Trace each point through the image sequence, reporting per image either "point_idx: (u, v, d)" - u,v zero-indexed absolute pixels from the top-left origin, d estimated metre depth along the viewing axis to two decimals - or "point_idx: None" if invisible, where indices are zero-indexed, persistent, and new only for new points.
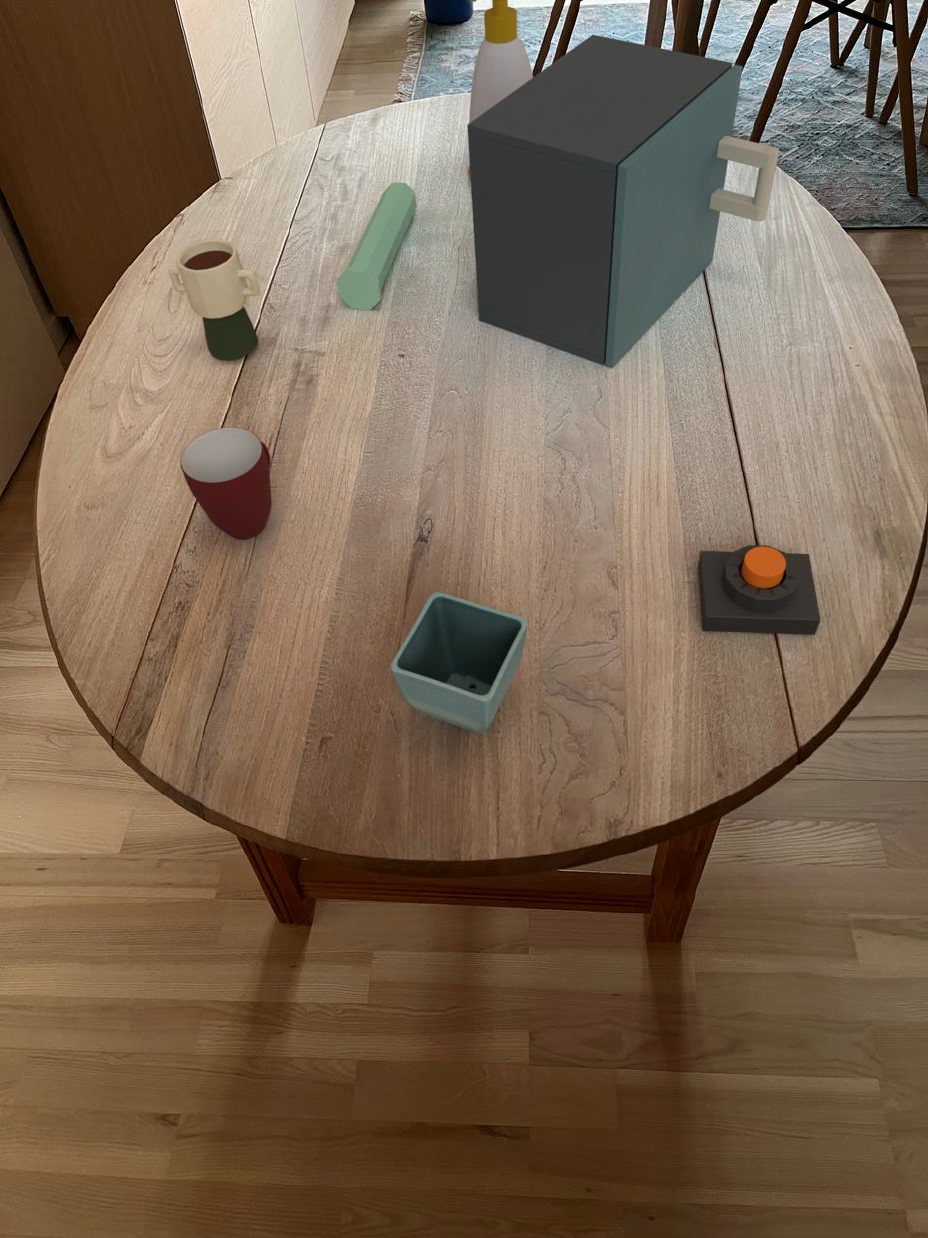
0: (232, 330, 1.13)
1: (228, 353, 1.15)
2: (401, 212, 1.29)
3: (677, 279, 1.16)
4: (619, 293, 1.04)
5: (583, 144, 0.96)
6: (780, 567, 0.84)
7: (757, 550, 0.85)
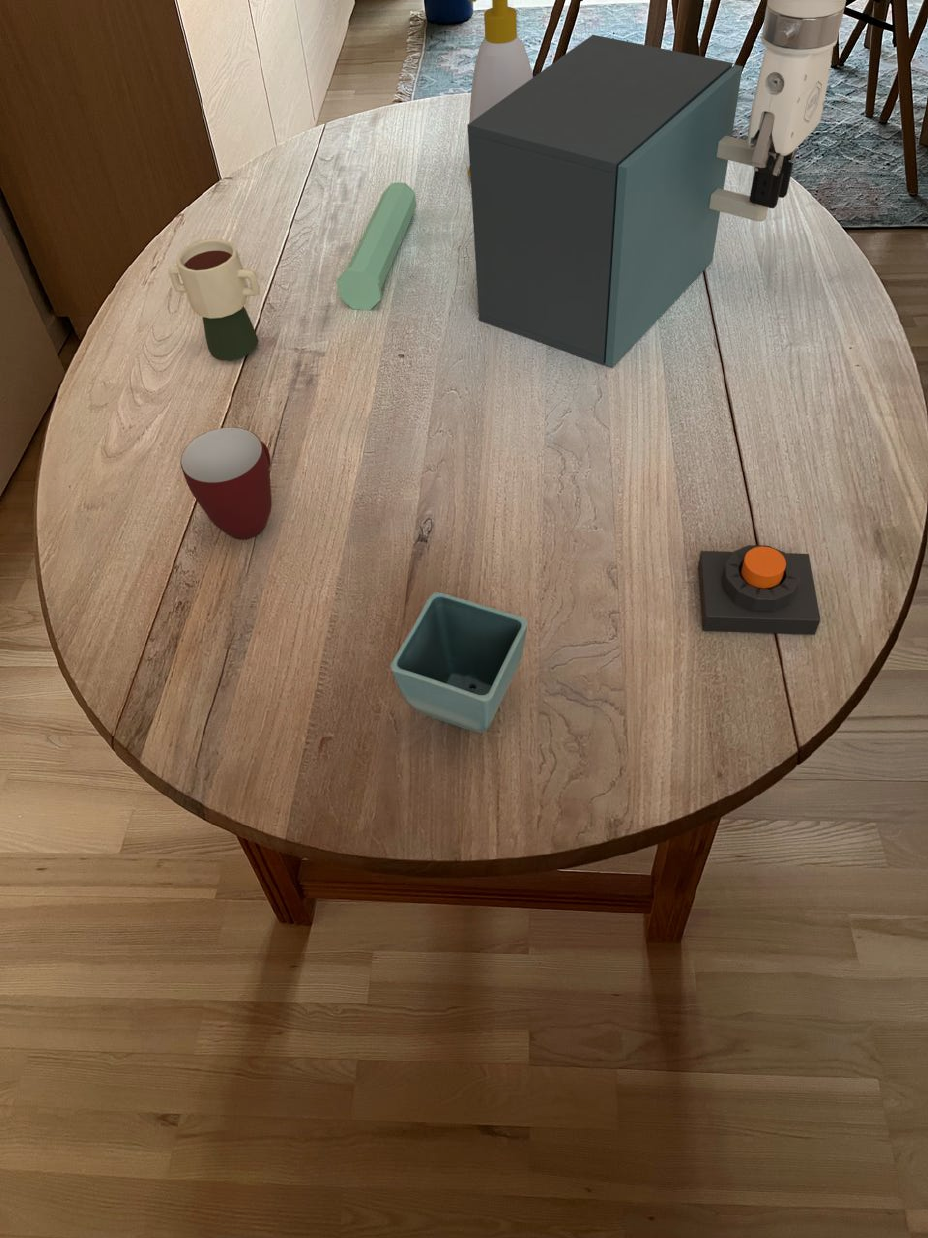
0: (232, 330, 1.13)
1: (228, 353, 1.15)
2: (401, 212, 1.29)
3: (677, 279, 1.16)
4: (619, 293, 1.04)
5: (583, 144, 0.96)
6: (780, 567, 0.84)
7: (757, 550, 0.85)
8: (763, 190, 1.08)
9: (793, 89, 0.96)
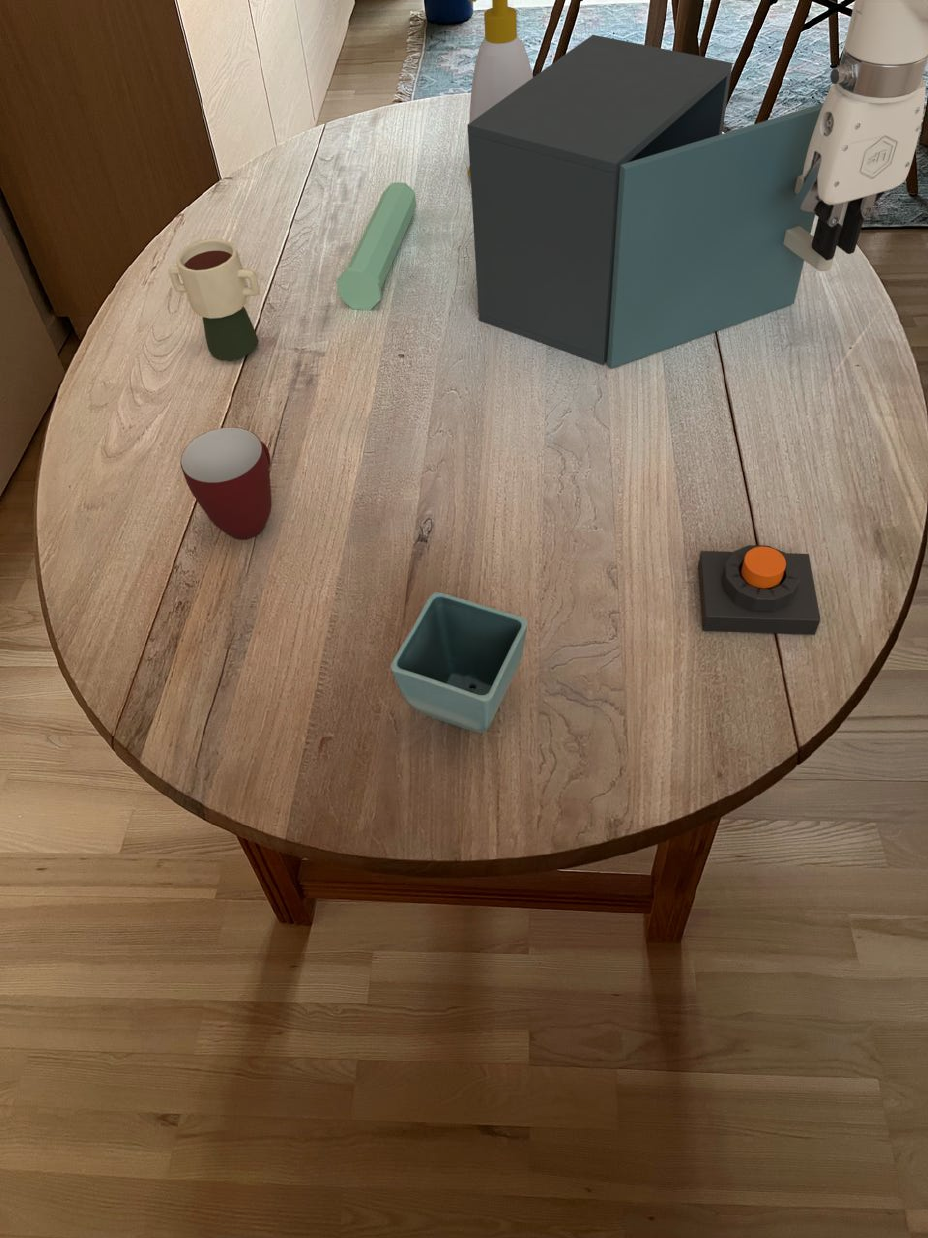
0: (232, 330, 1.13)
1: (228, 353, 1.15)
2: (401, 212, 1.29)
3: (726, 306, 1.12)
4: (618, 295, 1.03)
5: (583, 144, 0.96)
6: (780, 567, 0.84)
7: (757, 550, 0.85)
8: (819, 238, 1.01)
9: (840, 135, 0.90)
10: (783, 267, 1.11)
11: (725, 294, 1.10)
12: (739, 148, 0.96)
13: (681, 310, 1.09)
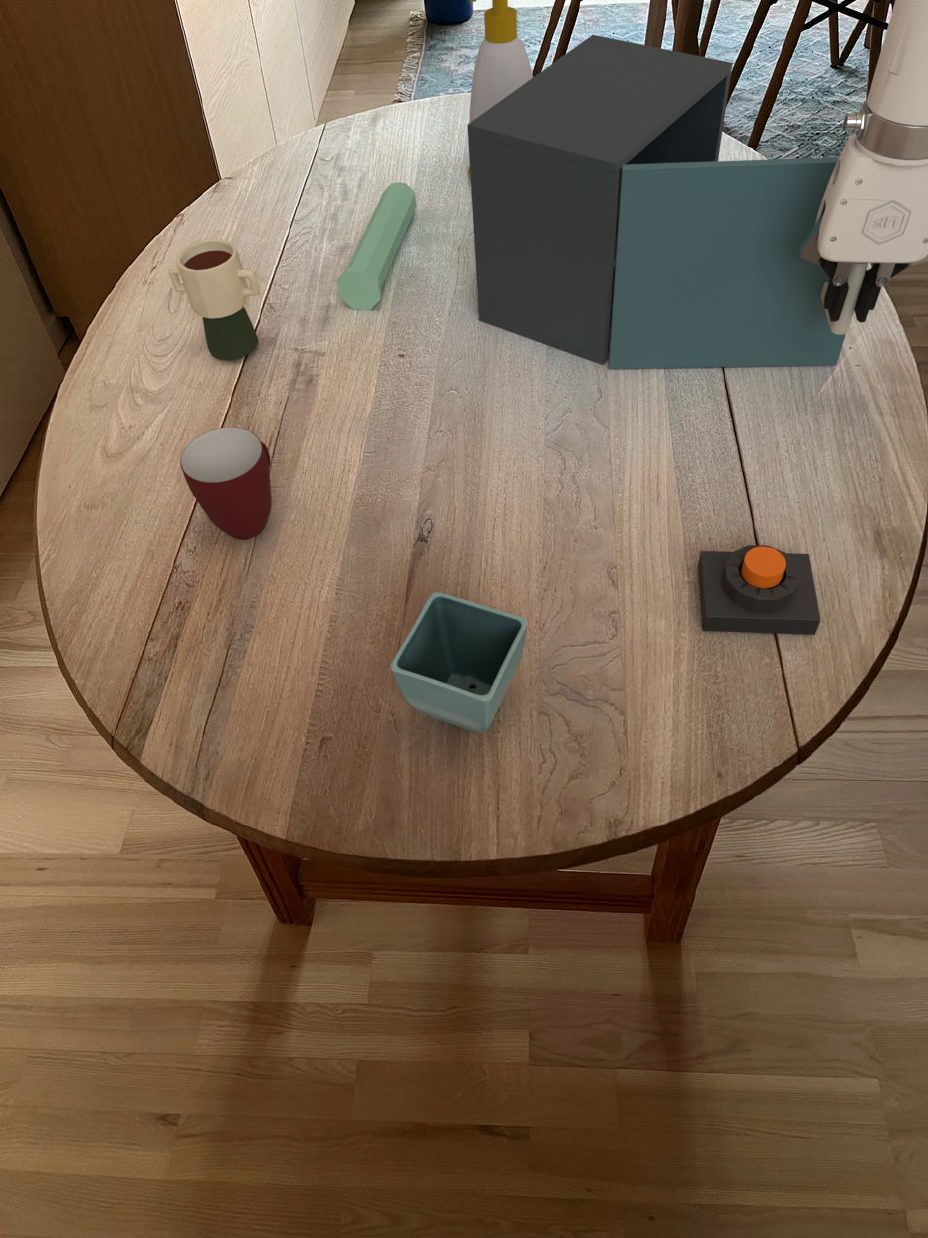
0: (232, 330, 1.13)
1: (228, 353, 1.15)
2: (401, 212, 1.29)
3: (747, 344, 1.07)
4: (616, 296, 1.03)
5: (583, 144, 0.96)
6: (780, 567, 0.84)
7: (757, 550, 0.85)
8: (827, 295, 0.94)
9: (840, 186, 0.84)
10: (821, 322, 1.04)
11: (746, 331, 1.06)
12: (761, 179, 0.92)
13: (692, 332, 1.06)
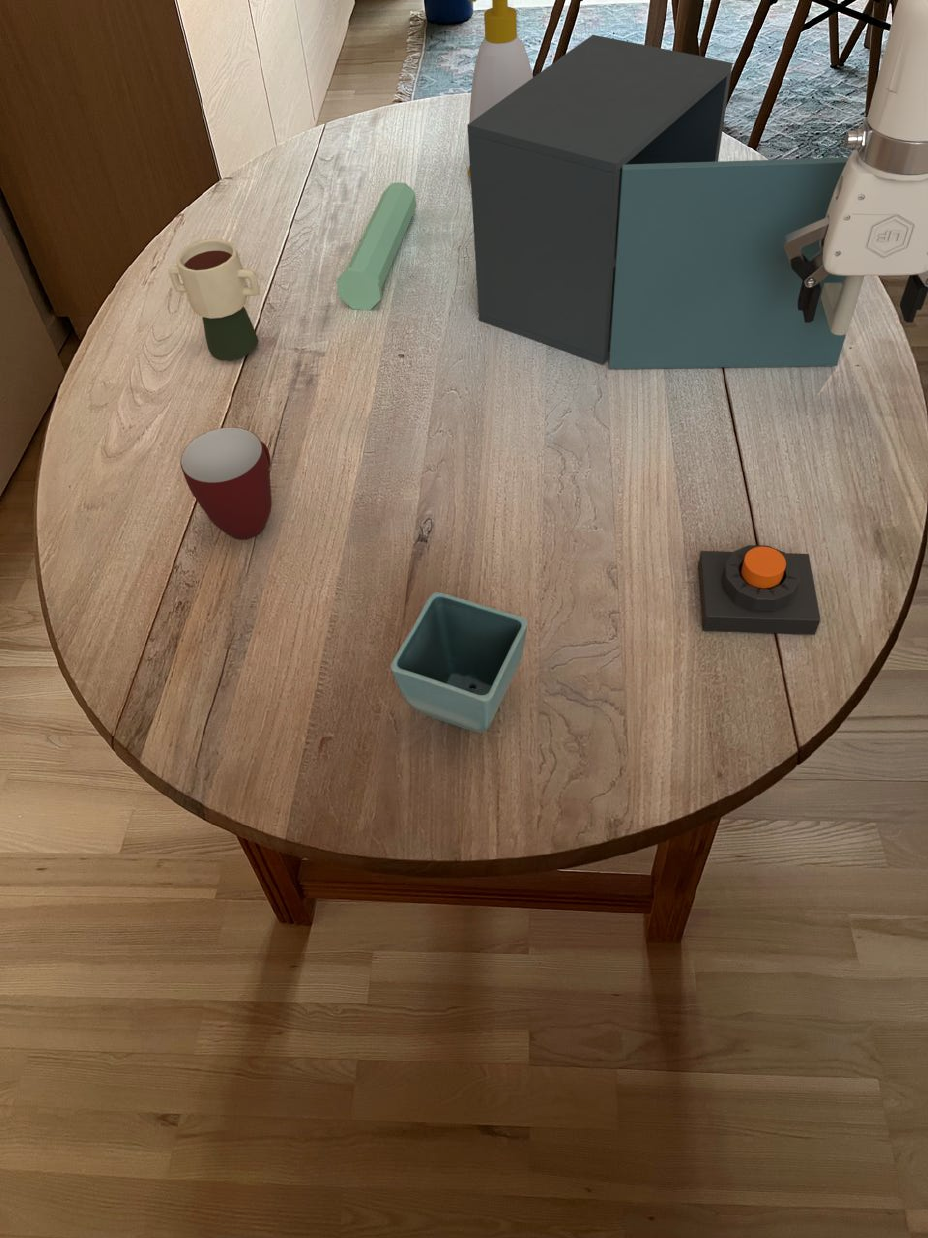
0: (232, 330, 1.13)
1: (228, 353, 1.15)
2: (401, 212, 1.29)
3: (748, 345, 1.07)
4: (616, 296, 1.03)
5: (583, 144, 0.96)
6: (780, 567, 0.84)
7: (757, 550, 0.85)
8: (800, 296, 0.94)
9: (843, 202, 0.85)
10: (821, 322, 1.04)
11: (746, 331, 1.06)
12: (762, 180, 0.92)
13: (692, 333, 1.06)
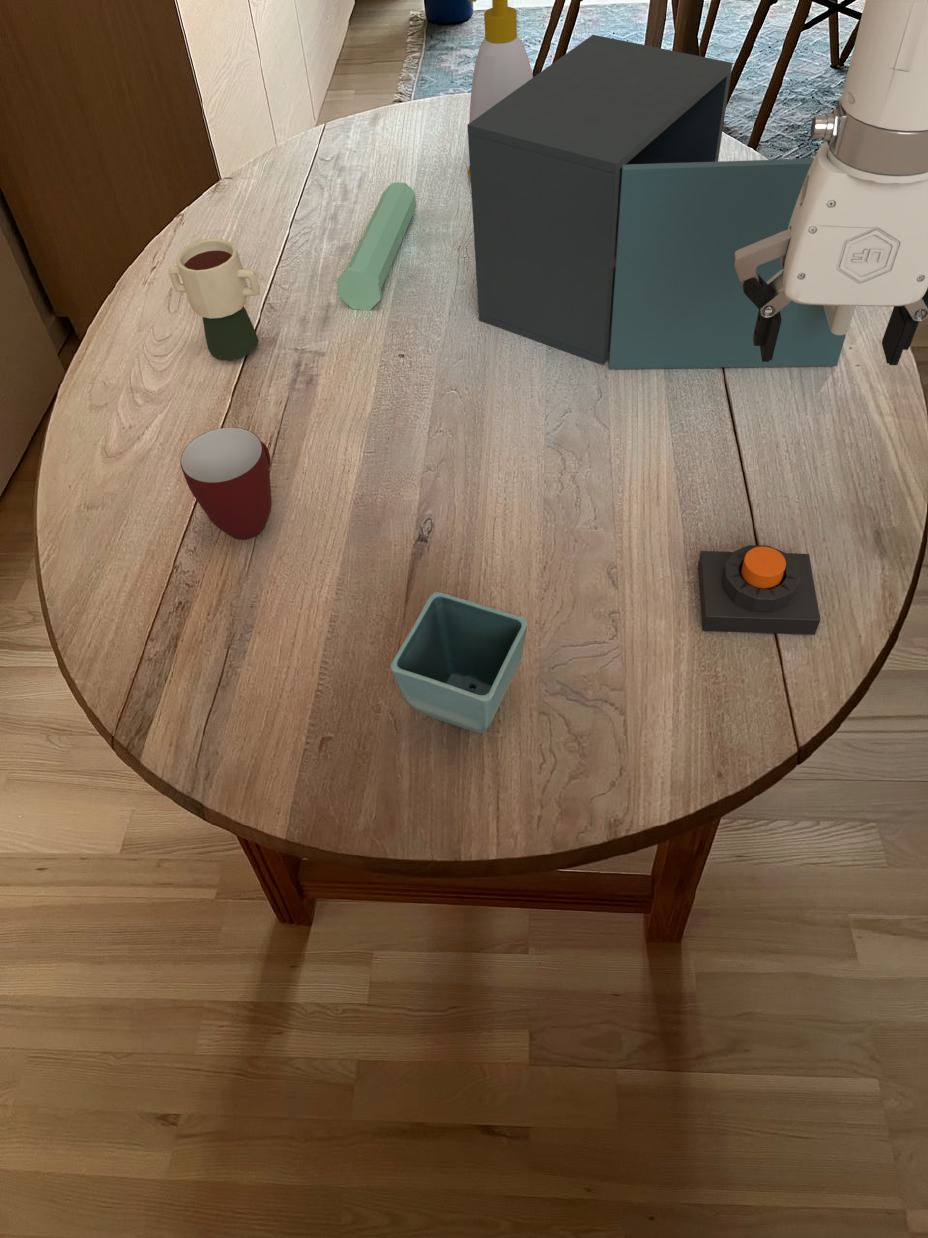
0: (232, 330, 1.13)
1: (228, 353, 1.15)
2: (401, 212, 1.29)
3: (748, 345, 1.07)
4: (616, 296, 1.03)
5: (583, 144, 0.96)
6: (780, 567, 0.84)
7: (757, 550, 0.85)
8: (757, 329, 0.75)
9: (808, 210, 0.65)
10: (821, 322, 1.04)
11: (746, 331, 1.06)
12: (762, 180, 0.92)
13: (692, 333, 1.06)
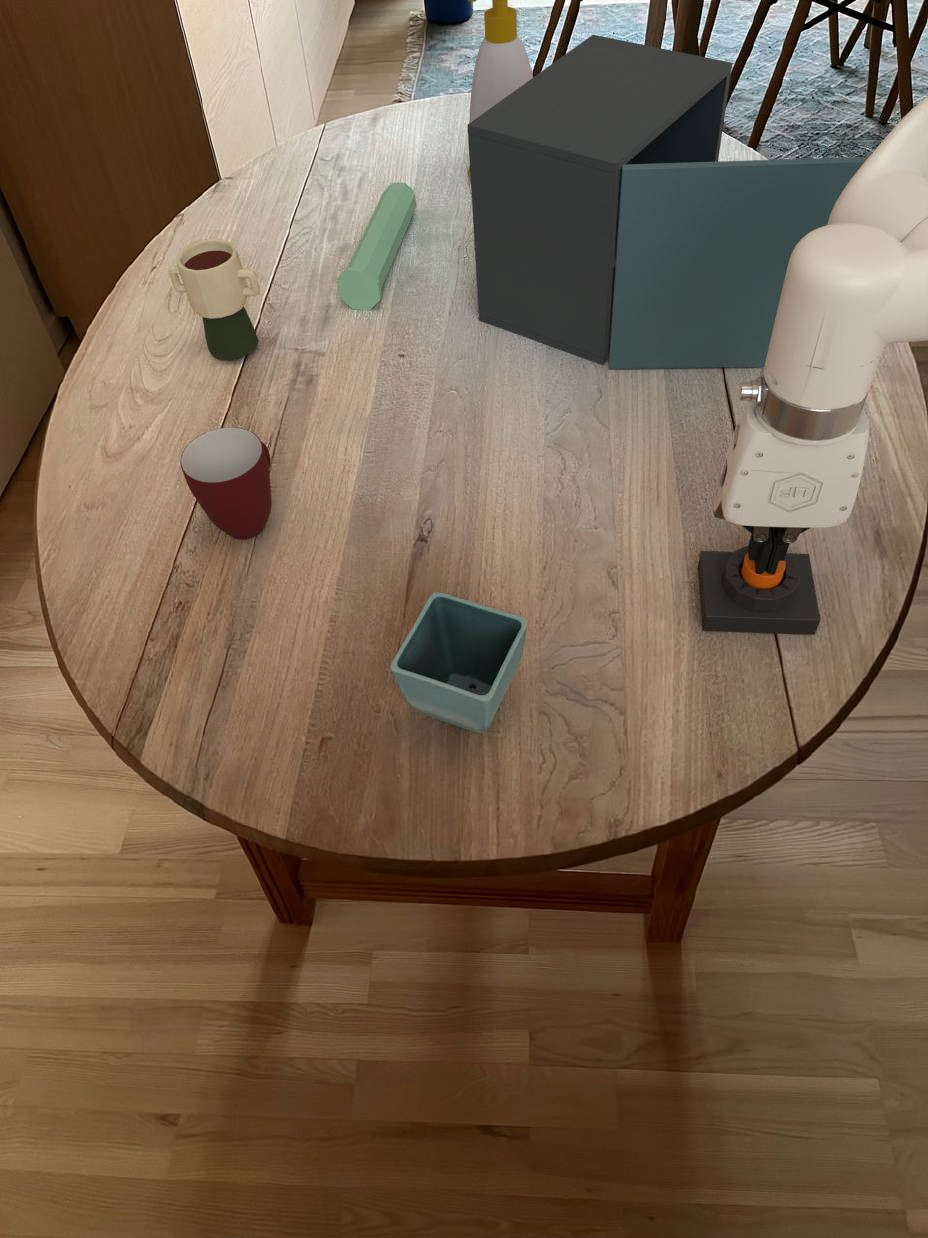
0: (232, 330, 1.13)
1: (228, 353, 1.15)
2: (401, 212, 1.29)
3: (748, 345, 1.07)
4: (616, 296, 1.03)
5: (583, 144, 0.96)
6: (779, 568, 0.84)
7: None
8: (750, 546, 0.83)
9: (739, 457, 0.73)
10: None
11: (746, 331, 1.06)
12: (762, 180, 0.92)
13: (692, 333, 1.06)
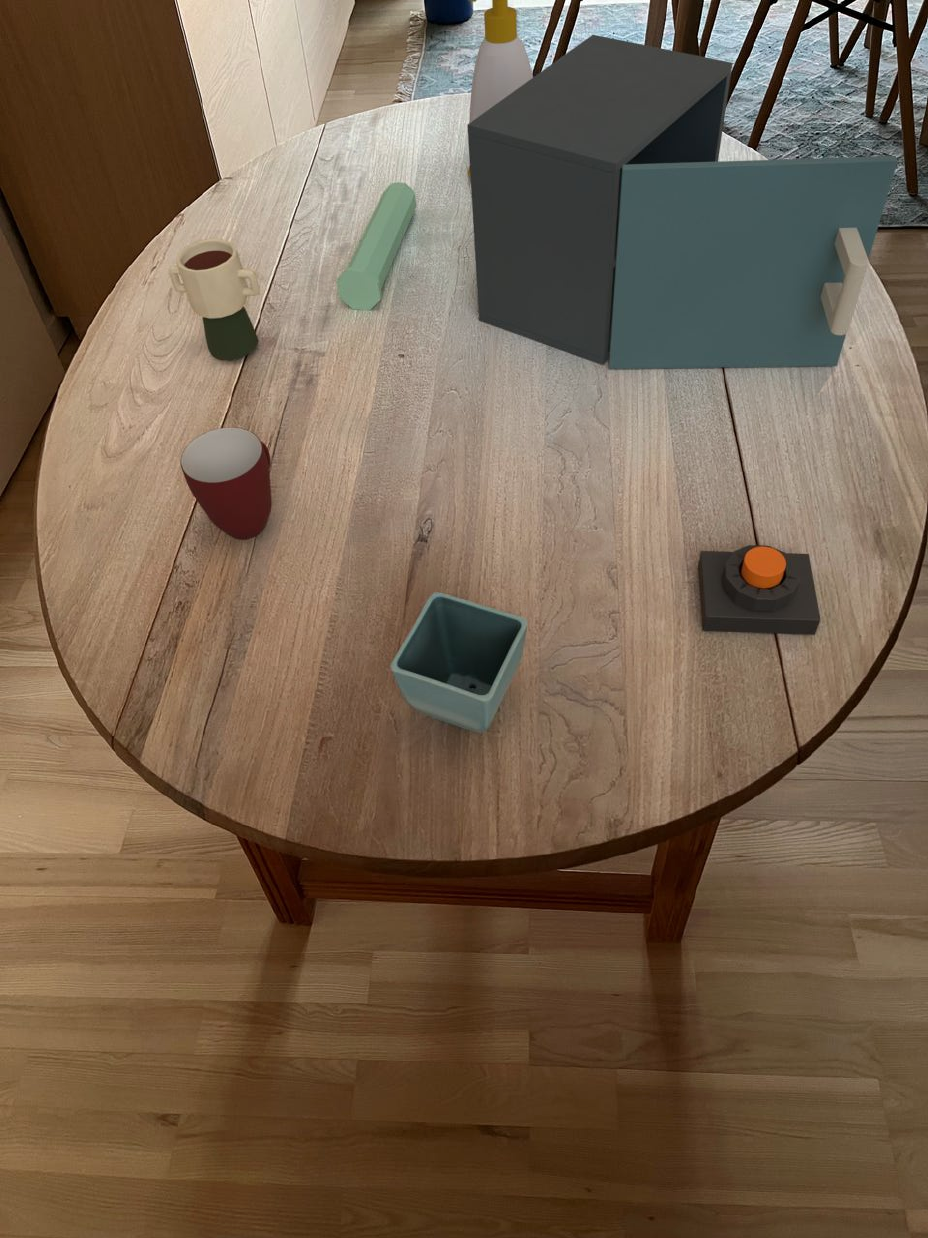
0: (232, 330, 1.13)
1: (228, 353, 1.15)
2: (401, 212, 1.29)
3: (748, 345, 1.07)
4: (616, 296, 1.03)
5: (583, 144, 0.96)
6: (780, 567, 0.84)
7: (757, 550, 0.85)
8: None
9: None
10: (821, 322, 1.04)
11: (746, 331, 1.06)
12: (762, 180, 0.92)
13: (692, 333, 1.06)
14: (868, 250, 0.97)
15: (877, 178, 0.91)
